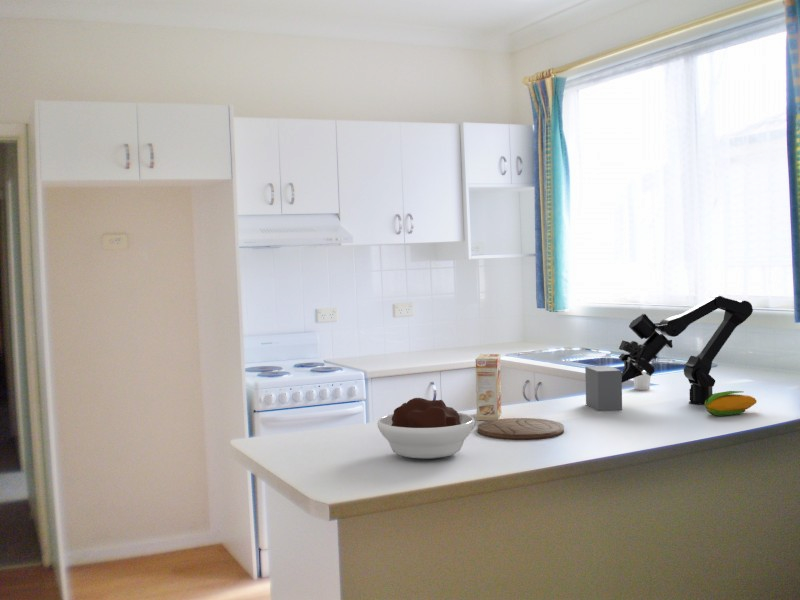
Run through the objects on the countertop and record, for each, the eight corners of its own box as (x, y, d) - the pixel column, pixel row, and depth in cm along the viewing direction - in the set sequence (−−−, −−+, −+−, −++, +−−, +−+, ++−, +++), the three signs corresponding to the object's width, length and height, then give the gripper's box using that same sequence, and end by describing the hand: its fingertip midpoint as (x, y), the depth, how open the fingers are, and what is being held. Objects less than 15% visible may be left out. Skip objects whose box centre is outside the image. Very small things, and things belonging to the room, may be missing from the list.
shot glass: (629, 388, 318) (628, 370, 318) (644, 386, 320) (644, 368, 320) (639, 390, 311) (639, 372, 311) (655, 389, 313) (654, 370, 313)
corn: (698, 390, 259) (746, 385, 267) (697, 414, 260) (745, 408, 267) (715, 395, 252) (764, 390, 260) (714, 420, 253) (763, 413, 261)
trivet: (496, 444, 226) (496, 437, 226) (465, 427, 250) (465, 421, 250) (579, 437, 233) (579, 430, 233) (541, 421, 257) (541, 415, 257)
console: (608, 403, 284) (608, 365, 284) (622, 409, 271) (621, 370, 271) (586, 404, 284) (585, 366, 283) (598, 410, 271) (597, 371, 270)
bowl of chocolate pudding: (443, 441, 230) (441, 387, 229) (494, 458, 208) (493, 399, 207) (362, 453, 218) (360, 396, 218) (407, 472, 196) (406, 409, 196)
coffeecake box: (498, 420, 258) (497, 358, 257) (475, 420, 260) (474, 358, 259) (502, 412, 273) (501, 353, 272) (480, 412, 274) (479, 353, 273)
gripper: (624, 330, 287) (593, 362, 286) (644, 334, 268) (611, 369, 267) (646, 351, 288) (615, 384, 287) (668, 357, 269) (635, 392, 268)
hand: (619, 382), depth 277 cm, fingers closed, pressing on button
